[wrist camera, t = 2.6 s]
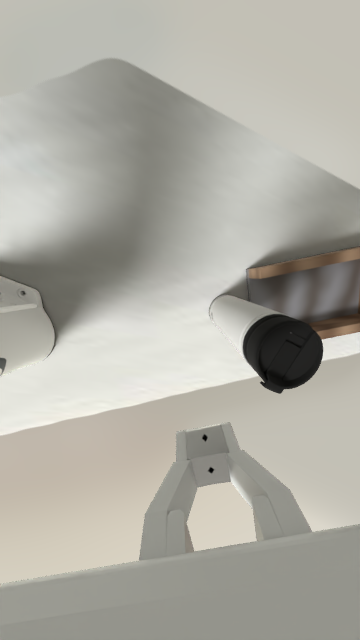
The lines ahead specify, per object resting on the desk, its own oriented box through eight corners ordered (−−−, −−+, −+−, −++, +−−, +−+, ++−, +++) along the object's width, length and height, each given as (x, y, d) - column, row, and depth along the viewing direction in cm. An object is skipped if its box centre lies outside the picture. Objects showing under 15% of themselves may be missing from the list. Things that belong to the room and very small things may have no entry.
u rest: (252, 339, 35) (266, 350, 30) (246, 269, 32) (259, 268, 27) (360, 318, 35) (391, 325, 30) (365, 245, 32) (402, 239, 27)
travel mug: (202, 319, 34) (240, 378, 15) (218, 288, 33) (286, 309, 13) (229, 332, 35) (299, 405, 15) (246, 303, 33) (348, 342, 14)
